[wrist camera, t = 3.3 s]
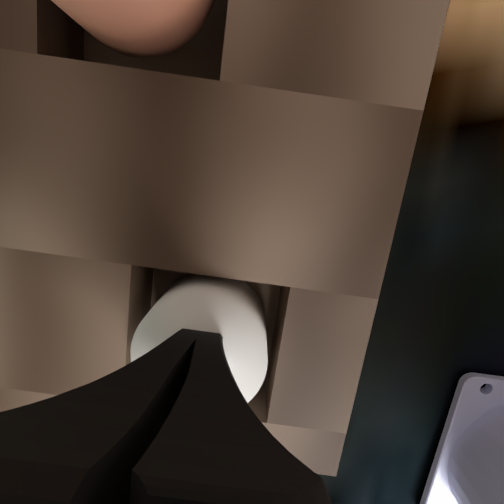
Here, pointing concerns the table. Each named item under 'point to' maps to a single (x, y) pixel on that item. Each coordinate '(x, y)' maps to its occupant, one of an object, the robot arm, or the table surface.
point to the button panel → (209, 190)
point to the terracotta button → (139, 23)
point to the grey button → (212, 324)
